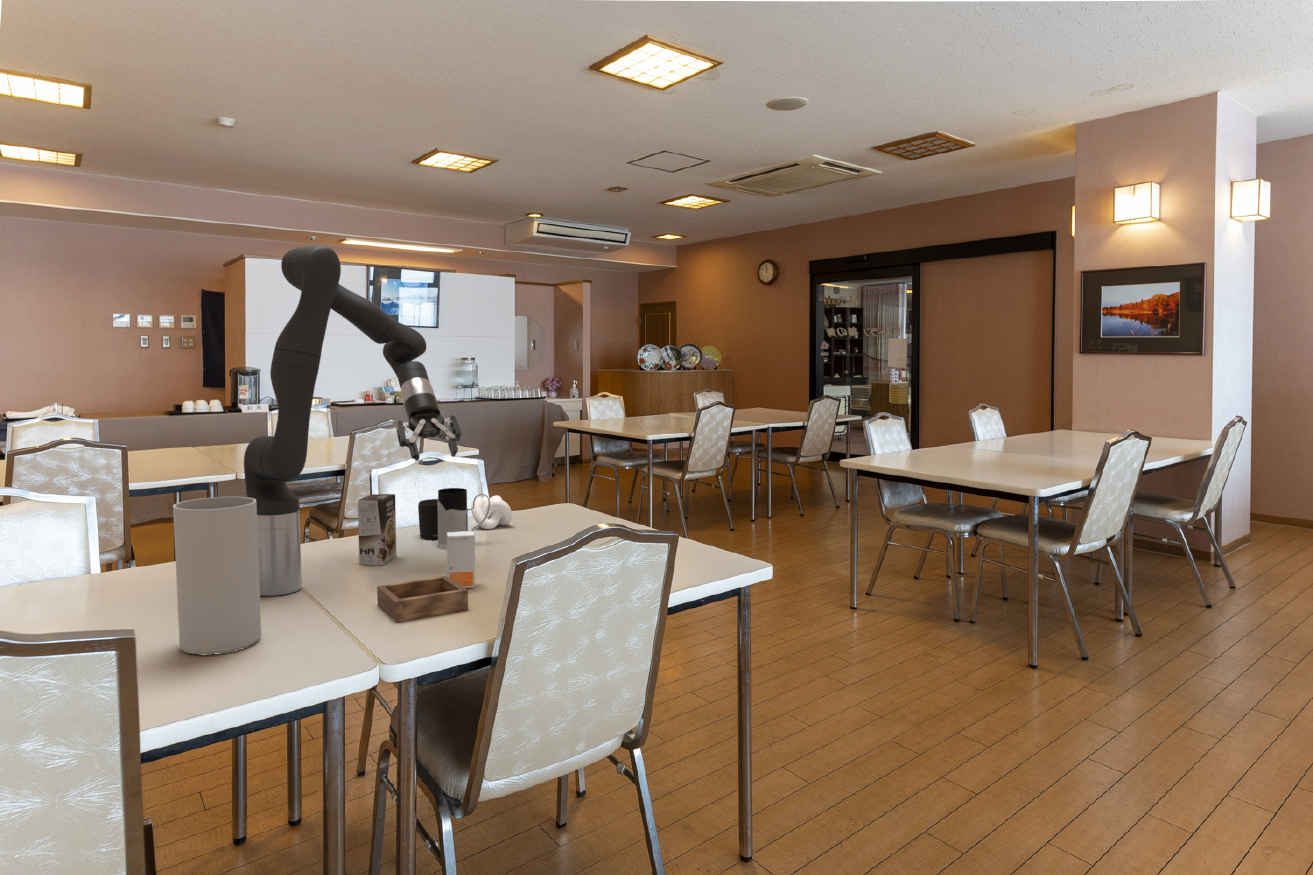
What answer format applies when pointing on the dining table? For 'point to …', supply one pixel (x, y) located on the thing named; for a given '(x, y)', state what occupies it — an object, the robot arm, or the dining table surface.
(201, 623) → the cylinder vase
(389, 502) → the coffee box
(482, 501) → the white knot sculpture
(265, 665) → the dining table surface
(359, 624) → the dining table surface
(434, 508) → the black smart speaker
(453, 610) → the tray
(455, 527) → the glass holder
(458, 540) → the skincare box
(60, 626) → the dining table surface
